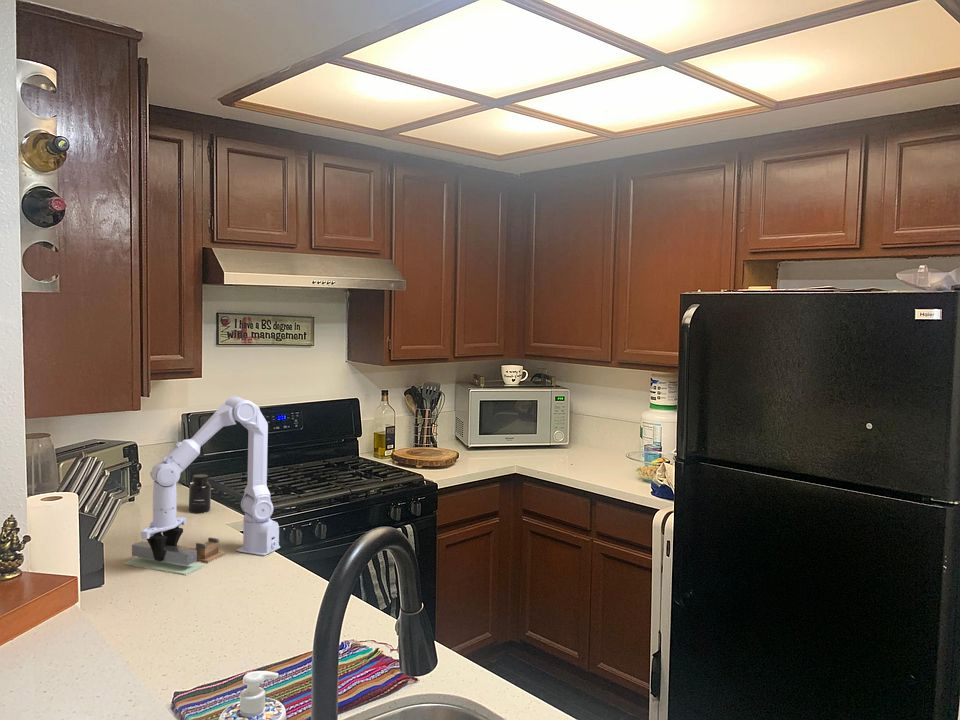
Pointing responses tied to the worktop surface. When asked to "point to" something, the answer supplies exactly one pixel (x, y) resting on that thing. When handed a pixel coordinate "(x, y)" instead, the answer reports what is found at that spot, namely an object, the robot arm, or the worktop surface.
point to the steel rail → (166, 553)
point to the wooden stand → (207, 550)
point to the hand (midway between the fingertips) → (164, 558)
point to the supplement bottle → (199, 494)
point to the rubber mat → (164, 565)
